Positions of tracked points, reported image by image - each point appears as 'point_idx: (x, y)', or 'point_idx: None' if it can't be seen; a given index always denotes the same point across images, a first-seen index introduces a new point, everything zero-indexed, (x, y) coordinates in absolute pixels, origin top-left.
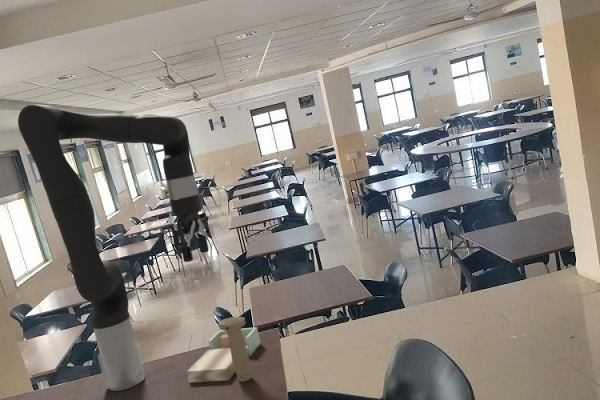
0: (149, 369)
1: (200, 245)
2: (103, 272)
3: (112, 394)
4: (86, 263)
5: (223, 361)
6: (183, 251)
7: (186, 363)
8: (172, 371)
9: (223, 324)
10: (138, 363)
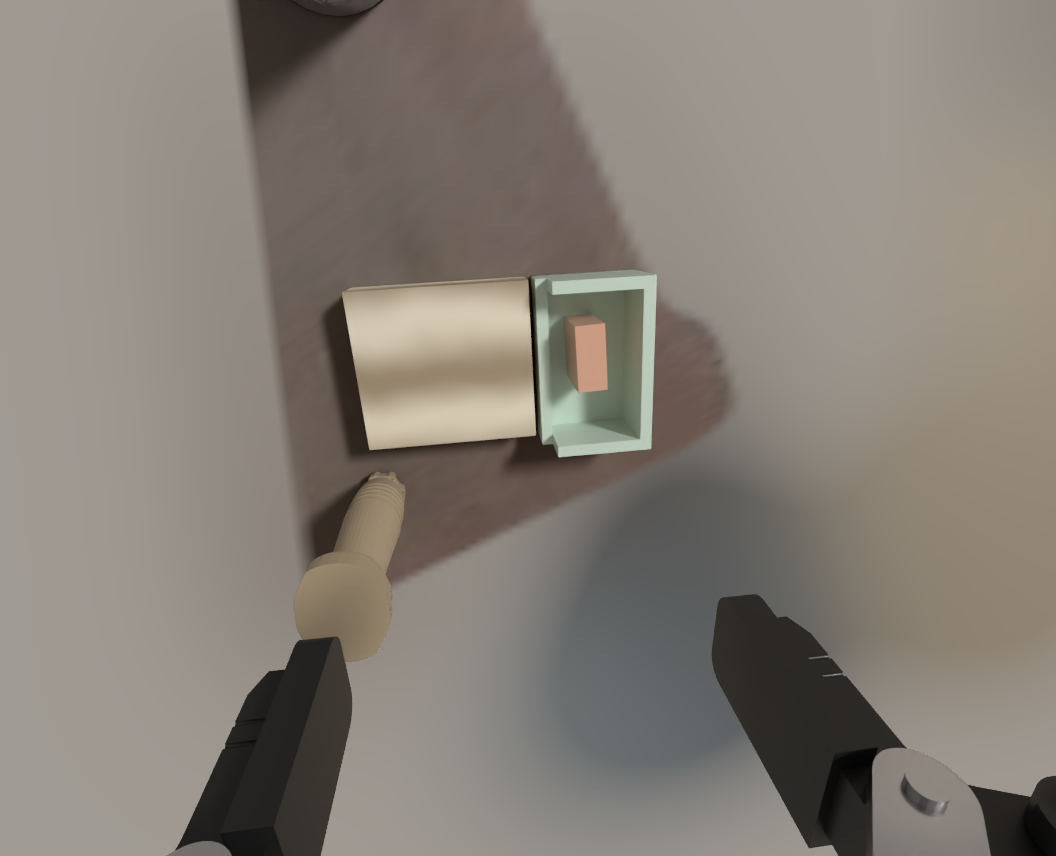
0: None
1: (767, 678)
2: None
3: None
4: None
5: (422, 411)
6: (211, 813)
7: (504, 167)
8: (436, 136)
9: (301, 598)
10: None
